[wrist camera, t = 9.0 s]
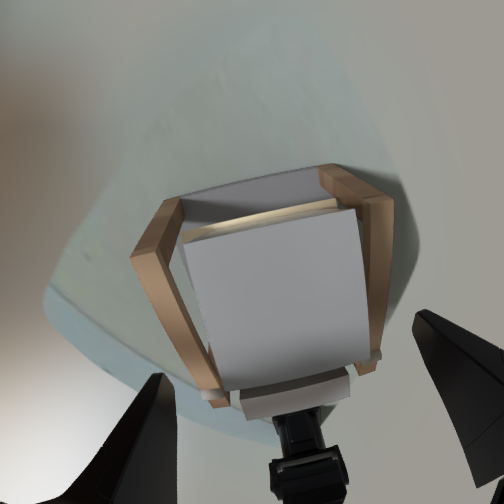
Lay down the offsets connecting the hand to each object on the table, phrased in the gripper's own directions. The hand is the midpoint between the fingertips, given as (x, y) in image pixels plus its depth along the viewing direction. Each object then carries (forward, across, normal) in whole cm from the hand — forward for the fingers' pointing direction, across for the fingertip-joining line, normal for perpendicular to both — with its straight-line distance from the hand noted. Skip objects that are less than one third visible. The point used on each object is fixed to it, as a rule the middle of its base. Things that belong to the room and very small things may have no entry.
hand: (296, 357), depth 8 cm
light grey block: (+6, 0, 0) cm, 6 cm away
